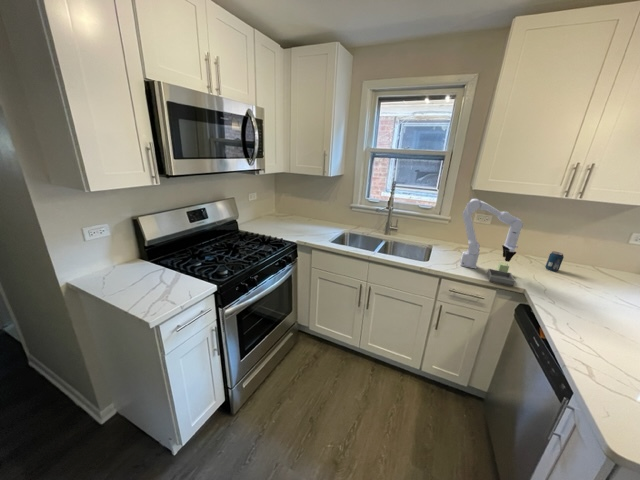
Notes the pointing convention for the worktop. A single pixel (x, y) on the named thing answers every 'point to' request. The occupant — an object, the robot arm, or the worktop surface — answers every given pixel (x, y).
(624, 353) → the worktop surface
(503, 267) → the light green block
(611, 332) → the worktop surface
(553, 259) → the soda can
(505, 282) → the bin
